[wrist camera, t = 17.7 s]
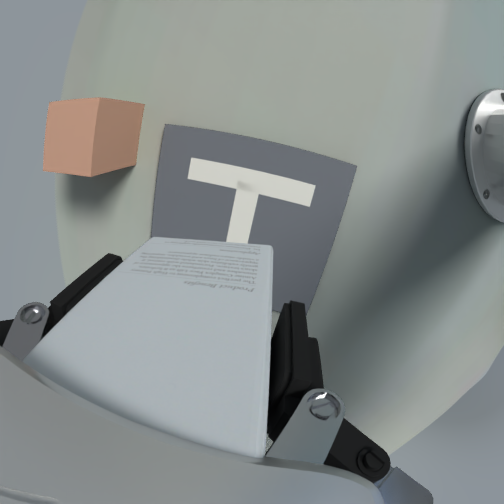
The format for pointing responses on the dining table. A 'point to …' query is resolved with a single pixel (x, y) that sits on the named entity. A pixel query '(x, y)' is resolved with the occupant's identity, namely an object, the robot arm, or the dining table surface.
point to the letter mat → (253, 201)
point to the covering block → (91, 136)
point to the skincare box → (174, 342)
